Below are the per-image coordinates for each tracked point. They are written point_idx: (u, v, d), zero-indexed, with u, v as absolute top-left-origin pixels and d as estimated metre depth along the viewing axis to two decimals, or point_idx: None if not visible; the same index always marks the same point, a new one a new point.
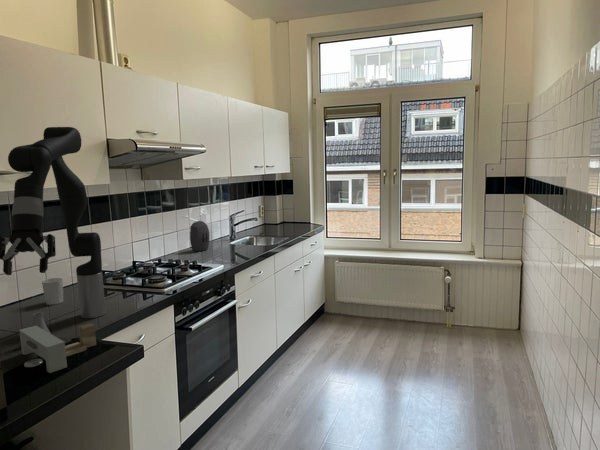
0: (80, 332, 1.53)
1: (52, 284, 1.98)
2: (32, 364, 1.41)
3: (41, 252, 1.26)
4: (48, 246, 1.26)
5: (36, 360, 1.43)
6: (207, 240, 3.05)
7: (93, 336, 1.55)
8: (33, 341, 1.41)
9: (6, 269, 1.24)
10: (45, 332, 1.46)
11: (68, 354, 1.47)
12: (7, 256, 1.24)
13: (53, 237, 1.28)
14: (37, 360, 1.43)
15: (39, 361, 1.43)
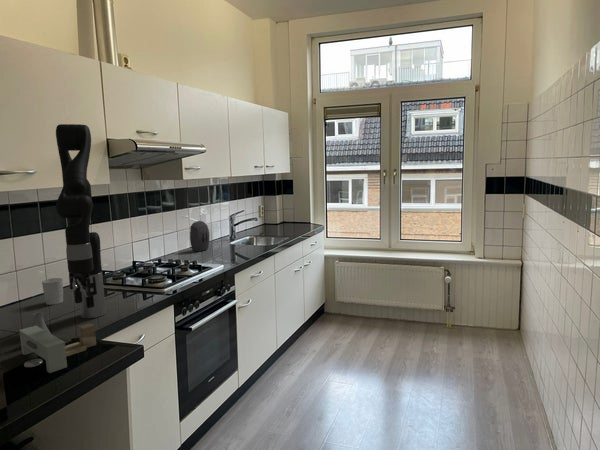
0: (80, 332, 1.53)
1: (52, 284, 1.98)
2: (32, 364, 1.41)
3: (85, 292, 1.48)
4: (87, 288, 1.47)
5: (36, 360, 1.43)
6: (207, 240, 3.05)
7: (93, 336, 1.55)
8: (33, 341, 1.41)
9: (75, 299, 1.54)
10: (45, 332, 1.46)
11: (68, 354, 1.47)
12: (73, 289, 1.54)
13: (91, 279, 1.47)
14: (37, 360, 1.43)
15: (39, 361, 1.43)
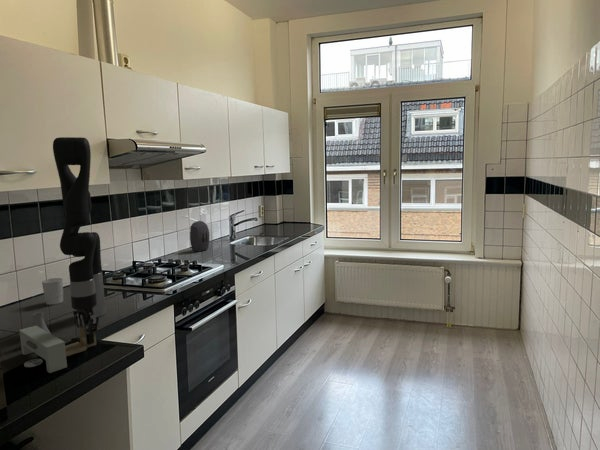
0: (80, 332, 1.53)
1: (52, 284, 1.98)
2: (32, 364, 1.41)
3: (86, 329, 1.52)
4: (89, 327, 1.50)
5: (36, 360, 1.43)
6: (207, 240, 3.05)
7: (94, 336, 1.55)
8: (33, 341, 1.41)
9: None
10: (45, 332, 1.46)
11: (68, 354, 1.47)
12: None
13: (94, 321, 1.49)
14: (37, 360, 1.43)
15: (39, 361, 1.43)
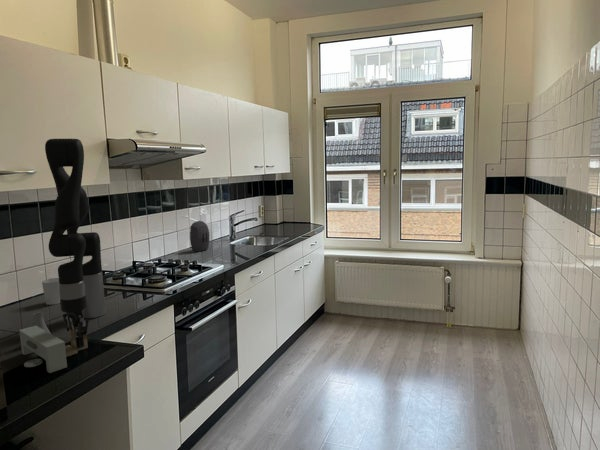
0: (71, 335, 1.50)
1: (52, 284, 1.98)
2: (32, 364, 1.41)
3: (75, 332, 1.49)
4: (78, 330, 1.47)
5: (36, 360, 1.43)
6: (207, 240, 3.05)
7: (85, 339, 1.52)
8: (33, 341, 1.41)
9: None
10: (45, 332, 1.46)
11: None
12: None
13: (84, 324, 1.47)
14: (37, 360, 1.43)
15: (39, 361, 1.43)
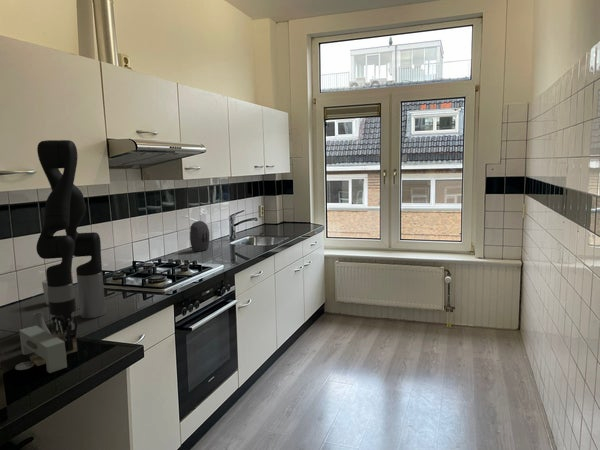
0: (60, 338, 1.48)
1: None
2: (23, 367, 1.39)
3: (64, 336, 1.46)
4: (67, 333, 1.45)
5: (28, 363, 1.42)
6: (207, 240, 3.05)
7: (74, 343, 1.50)
8: (33, 341, 1.41)
9: None
10: (45, 332, 1.46)
11: None
12: None
13: (73, 327, 1.44)
14: (29, 363, 1.42)
15: (31, 364, 1.41)
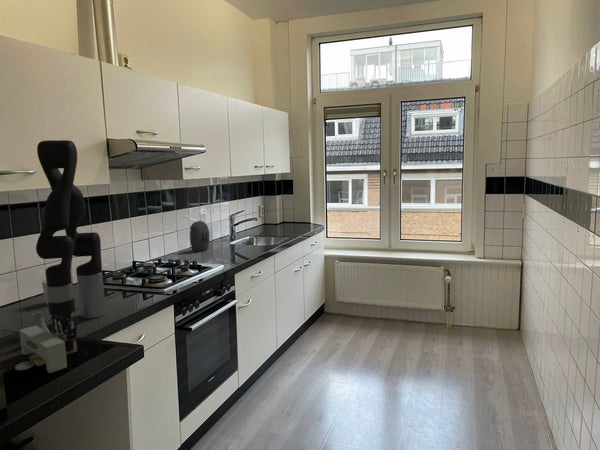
0: (60, 338, 1.48)
1: None
2: (23, 367, 1.39)
3: (65, 336, 1.46)
4: (67, 333, 1.44)
5: (27, 363, 1.42)
6: (207, 240, 3.05)
7: (74, 343, 1.50)
8: (33, 341, 1.41)
9: None
10: (45, 332, 1.46)
11: None
12: (57, 334, 1.49)
13: (72, 326, 1.44)
14: (28, 363, 1.42)
15: (30, 364, 1.41)
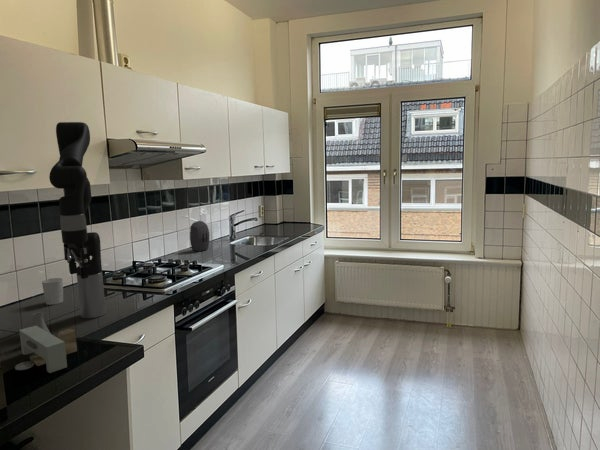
0: (60, 338, 1.48)
1: (52, 284, 1.98)
2: (23, 367, 1.39)
3: (79, 263, 1.49)
4: (81, 259, 1.47)
5: (28, 363, 1.42)
6: (207, 240, 3.05)
7: (74, 343, 1.50)
8: (33, 341, 1.41)
9: (69, 270, 1.55)
10: (45, 332, 1.46)
11: None
12: (68, 260, 1.54)
13: (85, 250, 1.47)
14: (29, 363, 1.42)
15: (30, 364, 1.41)
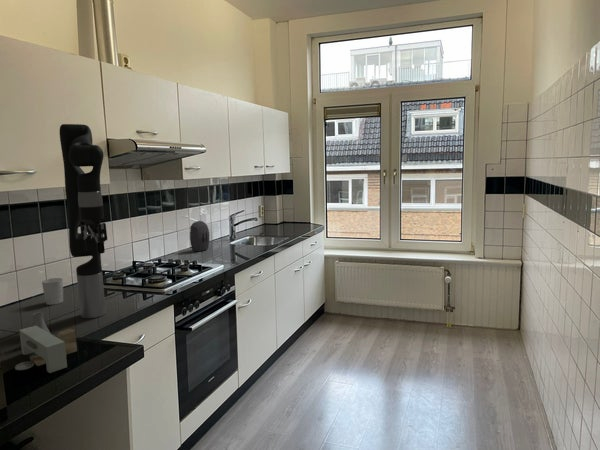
0: (60, 338, 1.48)
1: (52, 284, 1.98)
2: (23, 367, 1.39)
3: (96, 238, 1.55)
4: (98, 234, 1.53)
5: (28, 363, 1.42)
6: (207, 240, 3.05)
7: (74, 343, 1.50)
8: (33, 341, 1.41)
9: (86, 247, 1.61)
10: (45, 332, 1.46)
11: None
12: (84, 237, 1.60)
13: (102, 225, 1.53)
14: (29, 363, 1.42)
15: (30, 364, 1.41)
